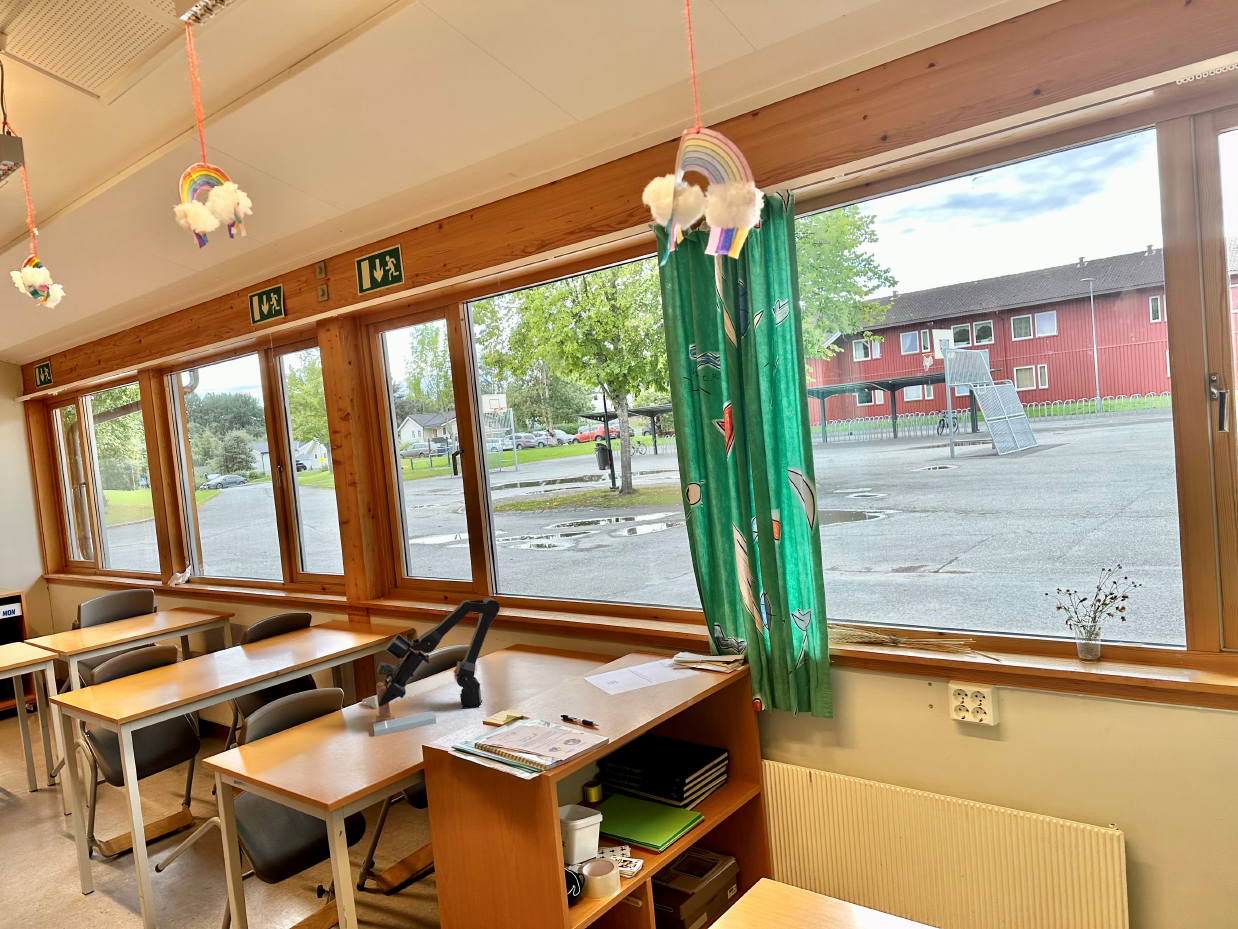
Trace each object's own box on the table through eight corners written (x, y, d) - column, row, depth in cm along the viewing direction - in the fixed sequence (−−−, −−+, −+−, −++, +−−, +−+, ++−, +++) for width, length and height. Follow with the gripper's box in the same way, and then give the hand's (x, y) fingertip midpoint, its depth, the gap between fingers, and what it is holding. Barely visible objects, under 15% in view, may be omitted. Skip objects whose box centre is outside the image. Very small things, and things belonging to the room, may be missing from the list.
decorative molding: (365, 712, 288) (377, 709, 282) (362, 699, 289) (374, 696, 282) (442, 685, 313) (455, 682, 306) (439, 674, 314) (452, 670, 307)
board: (433, 716, 268) (433, 710, 268) (436, 723, 260) (435, 717, 260) (373, 728, 261) (373, 723, 261) (374, 736, 253) (374, 730, 253)
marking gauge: (394, 718, 268) (389, 679, 268) (395, 722, 264) (390, 683, 263) (376, 722, 266) (371, 682, 266) (376, 726, 262) (372, 686, 261)
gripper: (388, 647, 274) (359, 684, 271) (391, 659, 257) (360, 699, 253) (413, 665, 277) (385, 701, 274) (418, 678, 260) (388, 717, 256)
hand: (379, 704), depth 264 cm, fingers closed on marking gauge, 3 cm apart
